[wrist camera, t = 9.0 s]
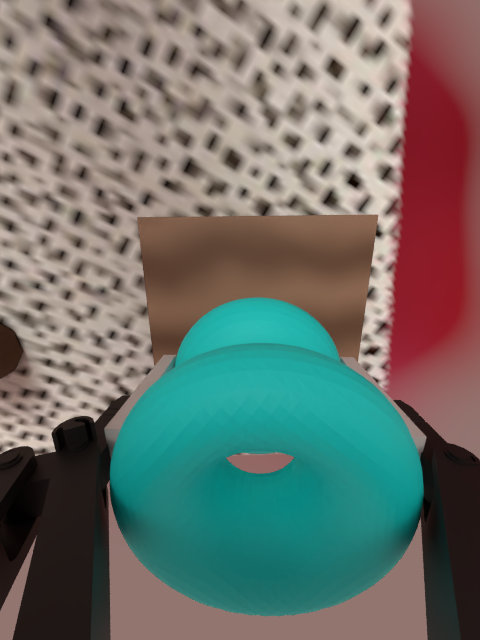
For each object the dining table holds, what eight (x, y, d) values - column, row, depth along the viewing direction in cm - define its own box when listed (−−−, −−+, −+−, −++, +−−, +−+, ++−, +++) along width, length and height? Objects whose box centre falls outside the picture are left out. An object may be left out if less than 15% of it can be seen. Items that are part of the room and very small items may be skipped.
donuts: (237, 282, 5) (531, 524, 7) (246, 258, 15) (365, 359, 16) (28, 537, 8) (277, 672, 9) (153, 374, 17) (264, 453, 19)
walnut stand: (158, 222, 26) (137, 217, 21) (354, 220, 25) (378, 214, 20) (173, 391, 32) (160, 417, 27) (334, 394, 31) (349, 421, 26)
